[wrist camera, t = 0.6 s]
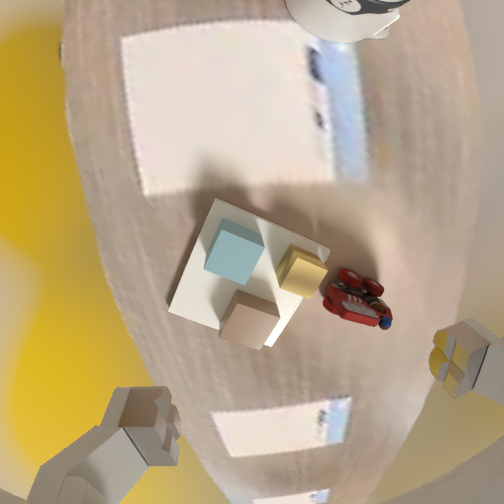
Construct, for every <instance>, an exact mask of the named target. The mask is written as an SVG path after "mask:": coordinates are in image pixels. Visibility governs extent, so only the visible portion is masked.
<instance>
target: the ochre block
mask: <svg viewBox="0 0 504 504" xmlns="http://www.w3.org/2000/svg"><path fill="white" fill-rule="evenodd" d="M327 272H328V270H327V268H326V267H325V265H324V264H323V262H322V261H321V259H320V258H319V256H317V255H315V254H313V253H311V252H308V251H306V250H304V249H302V248H299V247H297V246H295V245H293V244H290V245H289V247H288V248H287V250H286V252H285V254H284V256H283V258H282V259H281V261H280V263H279V265H278V267H277V268H276V270H275V274H276V277H277V281H278V284H279V287H280V288H281V289H283V290H286V291H289V292H291V293H294V294H297V295H299V296H302V297H304V298H307V299H311V298H312V296H313V295H314V293H315V291H316V290H317V288H318V287H319V285H320V283H321V282H322V280H323V278H324V277H325V275H326V274H327Z"/></svg>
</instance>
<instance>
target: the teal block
mask: <svg viewBox="0 0 504 504" xmlns="http://www.w3.org/2000/svg"><path fill="white" fill-rule="evenodd" d="M264 249H265V245H264V242H263V239H262V235H261V234H259V233H257V232H254V231H252V230H250V229H248V228H245V227H243V226H241V225H238V224H236V223H233V222H231V221H229V220H226V219H224V218H222V220H221V222H220V224H219V227H218V229H217V231H216V233H215V235H214V238H213V240H212V242H211V244H210V246H209V249H208V251H207V253H206V257H205V263H204V270H206V271H209V272H211V273H214V274H216V275H219V276H221V277H224V278H227V279H229V280H232V281H234V282H237V283H239V284H242V285H246V283H247V281H248V279H249V277H250V276H251V274H252V272H253V270H254V268H255V266H256V264H257V262H258V260H259V259H260V257H261V255H262V253H263V251H264Z"/></svg>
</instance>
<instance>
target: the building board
mask: <svg viewBox="0 0 504 504" xmlns="http://www.w3.org/2000/svg"><path fill="white" fill-rule="evenodd" d="M222 218H224V219H226V220H229V221H231V222H233V223H236V224H238V225H241V226H243V227H245V228H248V229H250V230H252V231H254V232H257V233H259V234H261V235H262V239H263V242H264V245H265V249H264V251H263V253H262V255H261V257H260V259H259V260H258V262H257V264H256V266H255V268H254V270H253V272H252V274H251V276H250V277H249V279H248V281H247V283H246V285H242V284H239V283H237V282H234V281H232V280H229V279H227V278H224V277H221V276H219V275H216V274H214V273H211V272H209V271H206V270H204V263H205V257H206V253H207V251H208V249H209V246H210V244H211V242H212V240H213V238H214V235H215V233H216V231H217V229H218V227H219V224H220V222H221V220H222ZM290 244H293V245H295V246H297V247H299V248H302V249H304V250H306V251H308V252H311V253H313V254H315V255H317V256H319V258H320V259H321V261H322V262H323V264H324V263H325V261H326V260H327V258H328V256H329V254H330V253H331V250H330V249H329V248H327V247H325V246H323V245H321V244H319V243H316V242H314V241H312V240H310V239H308V238H306V237H303V236H301V235H299V234H297V233H295V232H293V231H290V230H288V229H286V228H284V227H282V226H279V225H277V224H275V223H273V222H270V221H268V220H266V219H264V218H261V217H259V216H257V215H255V214H252V213H250V212H248V211H246V210H243V209H241V208H239V207H236V206H234V205H232V204H230V203H227V202H225V201H223V200H220V199H218V198H216V197H215V200H214V202H213V204H212V206H211V209H210V211H209V213H208V215H207V218H206V220H205V222H204V224H203V227H202V229H201V231H200V234H199V236H198V238H197V241H196V243H195V245H194V248H193V250H192V253H191V255H190V257H189V260H188V262H187V265H186V267H185V269H184V272H183V274H182V277H181V279H180V282H179V284H178V287H177V289H176V292H175V294H174V297H173V299H172V302H171V304H170V307H169V310H168V312H171V313H173V314H176V315H179V316H181V317H184V318H187V319H190V320H192V321H195V322H198V323H201V324H204V325H206V326H209V327H212V328H215V329H218V330H219V338H222V339H225V340H228V341H231V342H234V343H237V344H240V345H244V346H247V347H250V348H253V349H257V350H260V349H261V348H262V346H263V345H268V346H271V347H272V345H273V344H274V342H275V341H276V339H277V338H278V336H279V335H280V333H281V332H282V330H283V329H284V327H285V326H286V324H287V323H288V321H289V319H290V318H291V316H292V315H293V313H294V312H295V310H296V308H297V307H298V305H299V304H300V302H301V301H302V299H303V297H302V296H299V295H297V294H294V293H291V292H289V291H286V290H283V289H281V288H280V287H279V284H278V281H277V277H276V274H275V270H276V268H277V267H278V265H279V263H280V261H281V259H282V258H283V256H284V254H285V252H286V250H287V248H288V247H289V245H290Z"/></svg>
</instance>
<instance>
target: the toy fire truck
mask: <svg viewBox="0 0 504 504" xmlns="http://www.w3.org/2000/svg"><path fill="white" fill-rule="evenodd" d="M338 278H339V279H340V280H341V281H342V282H343V283H344V284H343V285H337V284H334V283H329V285H328V287H327V289H326V293H327V294H328V295H327V296H326V297H325V298H324V300H323V306H324V307H325V308H326V309H327V310H328V311H329V312H331V313H333V314H336V315H339V316H340V317H341V318H342V319H345V320H349V321H353V322H357V323H361V324H365V325H368V326H372V327H375V326H377V324H378V325H379V327H380V328H381V329H383V330H387V329H389V328H390V326H391V321H392V319H393V318H392V314H391V310H390V308H389V307H388V306H387V305H386V304H385V303H384V302H383V301H382V300H381V299H379V298H377V297H380V296H382V294H383V292H384V287H383V286H382V285H380V284H379V283H378V282H376V281H374V280H373V279H370V278H365V279H364V281H363V280H362V278H361V277H360V276H359V275H358V274H357V273H355V272H353V271H352V270H349V269H346V268H342V269H341V271H340V272H339V274H338ZM362 282H363V283H362ZM361 284H362V287H363V288H364V289H365V290H366V291H367V293H364V292H363V293H362V292H358V291H355V290H352V289H349V288H348V287H349V286H350V287H353V288H359V287H360V285H361Z"/></svg>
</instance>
